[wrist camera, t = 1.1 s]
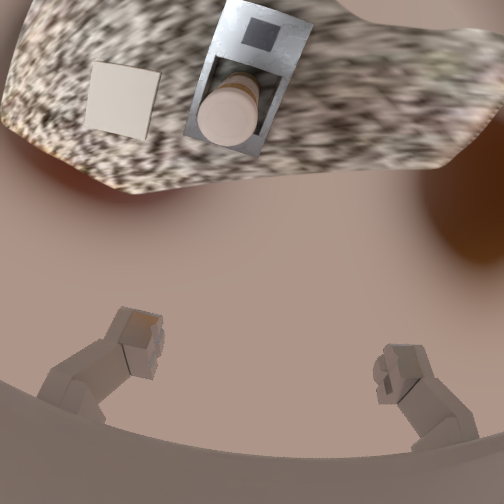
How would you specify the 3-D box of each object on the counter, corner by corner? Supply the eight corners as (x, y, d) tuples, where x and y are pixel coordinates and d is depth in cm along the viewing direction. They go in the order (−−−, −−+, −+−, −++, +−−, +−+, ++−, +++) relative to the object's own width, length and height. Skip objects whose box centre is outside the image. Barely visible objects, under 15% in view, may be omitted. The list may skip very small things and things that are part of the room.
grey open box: (232, 0, 25) (228, -4, 22) (308, 25, 26) (314, 24, 23) (191, 124, 35) (182, 135, 32) (258, 145, 36) (257, 158, 33)
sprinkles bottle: (231, 113, 34) (213, 156, 24) (214, 80, 31) (185, 107, 21) (267, 98, 33) (267, 134, 22) (250, 64, 30) (241, 81, 20)
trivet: (96, 60, 29) (94, 61, 29) (161, 72, 31) (160, 73, 30) (86, 124, 35) (84, 126, 34) (146, 139, 36) (144, 140, 36)
